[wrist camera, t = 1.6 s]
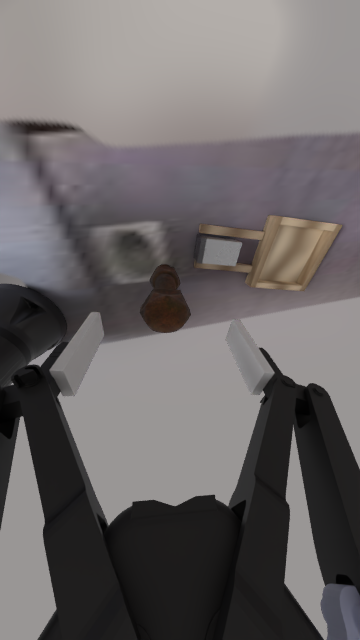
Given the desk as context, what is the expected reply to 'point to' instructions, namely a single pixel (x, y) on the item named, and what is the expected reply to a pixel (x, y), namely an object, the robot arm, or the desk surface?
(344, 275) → the desk surface
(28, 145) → the desk surface
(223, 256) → the grey rectangular block
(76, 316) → the desk surface
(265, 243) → the socket
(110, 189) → the desk surface
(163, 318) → the bolt
